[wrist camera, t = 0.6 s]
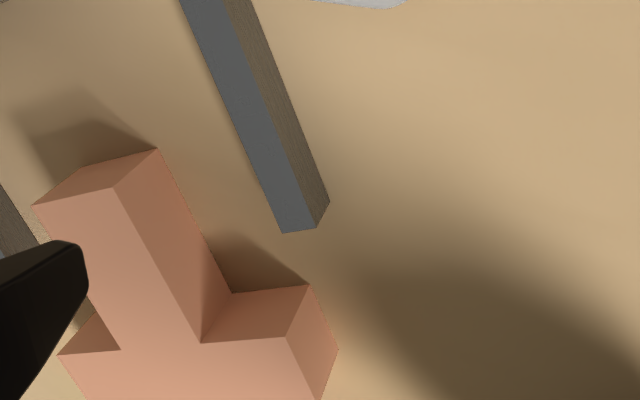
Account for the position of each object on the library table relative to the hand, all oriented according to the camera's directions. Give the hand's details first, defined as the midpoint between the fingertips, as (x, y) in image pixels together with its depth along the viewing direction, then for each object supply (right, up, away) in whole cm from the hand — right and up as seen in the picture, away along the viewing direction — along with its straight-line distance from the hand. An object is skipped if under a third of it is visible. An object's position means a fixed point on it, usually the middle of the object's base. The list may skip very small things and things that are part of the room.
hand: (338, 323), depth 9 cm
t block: (-7, -1, +20) cm, 22 cm away
